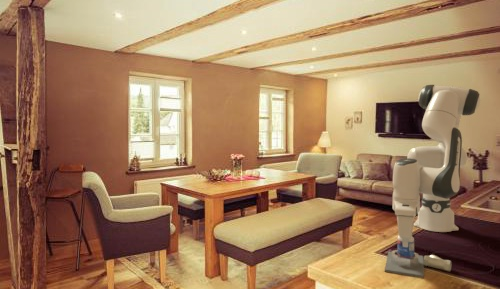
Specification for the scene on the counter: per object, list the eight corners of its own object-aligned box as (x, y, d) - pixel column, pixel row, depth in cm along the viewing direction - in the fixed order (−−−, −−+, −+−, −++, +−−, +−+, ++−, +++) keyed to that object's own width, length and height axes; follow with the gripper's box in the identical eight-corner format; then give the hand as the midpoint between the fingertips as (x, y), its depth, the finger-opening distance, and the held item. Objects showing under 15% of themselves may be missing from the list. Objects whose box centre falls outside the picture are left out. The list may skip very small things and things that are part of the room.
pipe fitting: (427, 262, 126) (423, 267, 121) (428, 251, 126) (423, 256, 121) (452, 268, 121) (449, 273, 116) (453, 257, 121) (449, 261, 116)
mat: (388, 253, 134) (388, 251, 134) (423, 257, 129) (423, 255, 129) (384, 271, 118) (384, 269, 118) (424, 278, 112) (424, 275, 112)
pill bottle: (394, 256, 124) (393, 229, 123) (403, 253, 126) (403, 227, 126) (408, 261, 119) (407, 233, 119) (417, 257, 122) (417, 230, 121)
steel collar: (392, 256, 129) (392, 248, 129) (418, 259, 125) (418, 251, 125) (390, 265, 121) (391, 256, 121) (418, 269, 117) (418, 260, 117)
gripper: (397, 198, 132) (397, 233, 133) (394, 211, 114) (394, 251, 115) (415, 199, 130) (415, 235, 131) (416, 212, 111) (415, 254, 112)
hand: (405, 243), depth 122 cm, fingers closed on pill bottle, 5 cm apart
